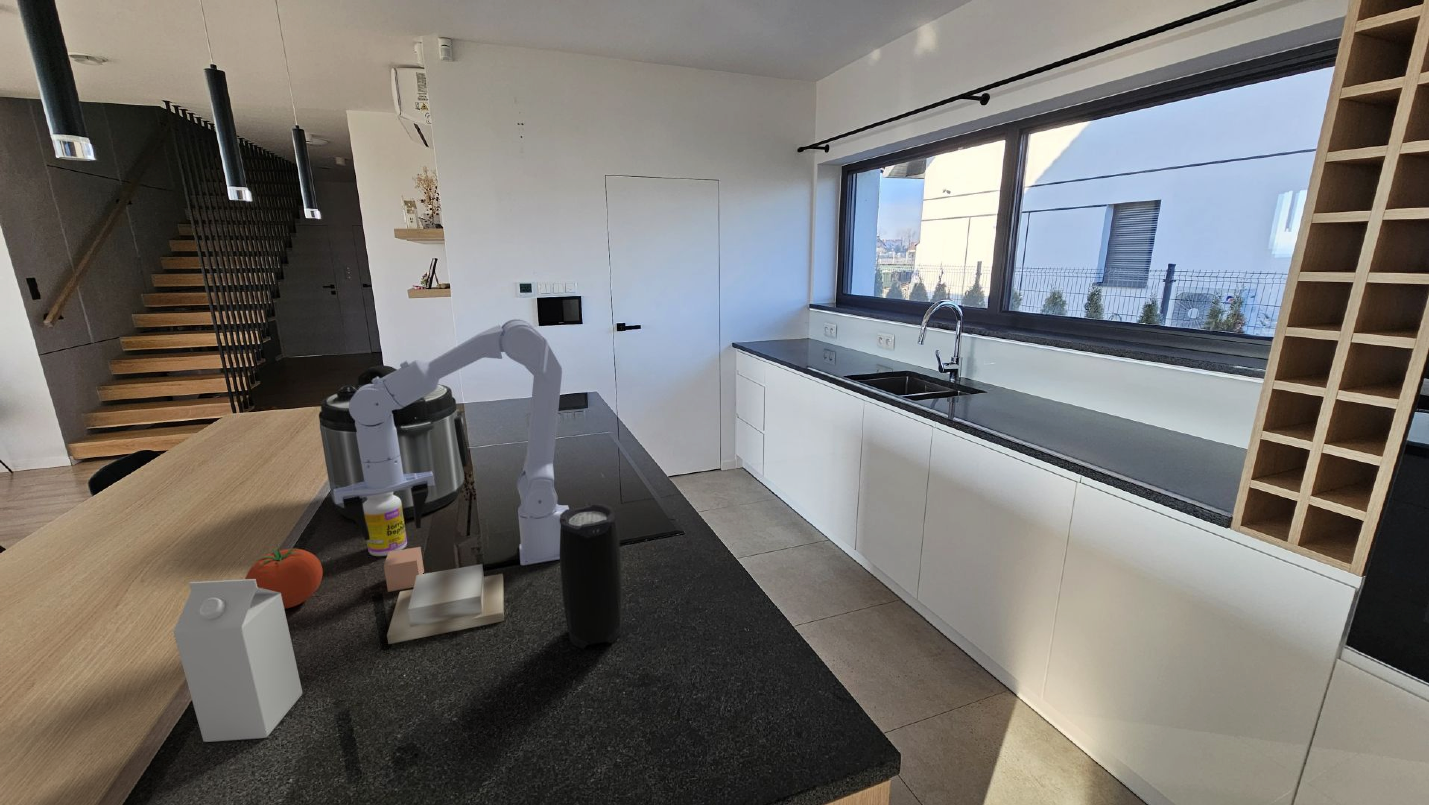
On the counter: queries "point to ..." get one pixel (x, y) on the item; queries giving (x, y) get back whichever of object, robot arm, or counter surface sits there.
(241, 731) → the milk carton
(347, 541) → the counter surface
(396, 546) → the supplement bottle
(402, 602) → the base
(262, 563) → the tomato
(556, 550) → the robot arm
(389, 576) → the cube
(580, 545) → the portable speaker
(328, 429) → the pressure cooker
